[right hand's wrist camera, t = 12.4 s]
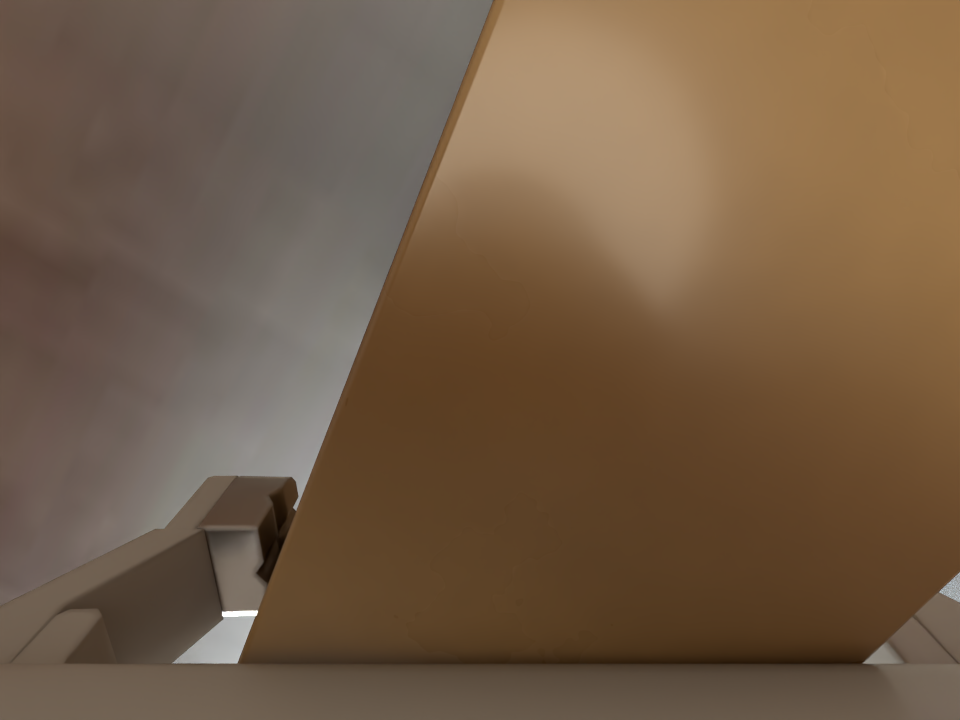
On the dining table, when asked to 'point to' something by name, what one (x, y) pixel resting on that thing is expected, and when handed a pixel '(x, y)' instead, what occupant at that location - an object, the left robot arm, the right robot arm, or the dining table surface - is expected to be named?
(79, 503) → the dining table surface
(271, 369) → the dining table surface
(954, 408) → the bar
